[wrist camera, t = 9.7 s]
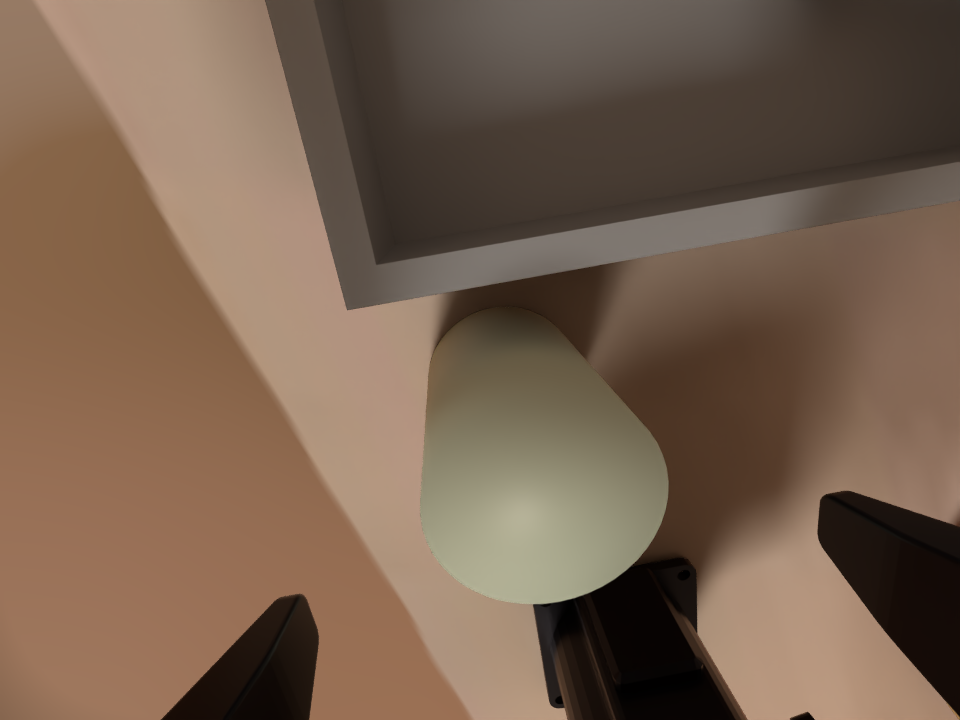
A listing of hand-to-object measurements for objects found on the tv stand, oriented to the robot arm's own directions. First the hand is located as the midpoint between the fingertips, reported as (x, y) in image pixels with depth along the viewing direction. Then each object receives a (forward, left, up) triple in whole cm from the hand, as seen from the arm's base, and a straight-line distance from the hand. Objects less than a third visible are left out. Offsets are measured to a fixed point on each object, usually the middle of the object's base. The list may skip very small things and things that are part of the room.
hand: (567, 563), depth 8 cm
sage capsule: (0, 0, -9) cm, 9 cm away
